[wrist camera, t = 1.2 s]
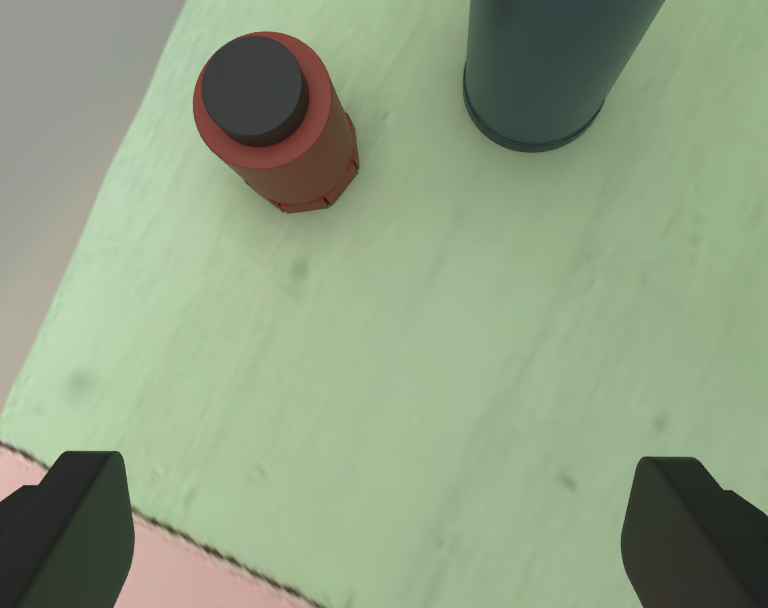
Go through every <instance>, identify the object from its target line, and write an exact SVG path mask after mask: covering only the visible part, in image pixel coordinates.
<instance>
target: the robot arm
mask: <svg viewBox="0 0 768 608" xmlns="http://www.w3.org/2000/svg"><path fill="white" fill-rule="evenodd" d="M134 542H135V533H134V525H133V518H132V511H131V504H130V498H129V491H128V484H127V477H126V471H125V464H124V460H123V457H122V455H121V454H120V452H118V451H66V452H64V453H62V454H61V455H60V456H59V458H58V459H57V460H56V462H55V463H54V464H53V466H52V467H51V468H50V470H49V471H48V473H47V474H46V475H45V477H44V478H43V479H42V481H41V482H40V483H39V485H23V486H22V487H21V488H19V489H18V490H16V491H15V492H13V493H12V494H11V495H9V496H8V497H6V498H5V499H4V500H2V501H1V502H0V608H113V607H114V605H115V603H116V601H117V598H118V596H119V594H120V592H121V589H122V587H123V585H124V583H125V580H126V578H127V576H128V573H129V570H130V567H131V563H132V558H133V552H134ZM621 553H622V559H623V564H624V568H625V571H626V573H627V576H628V578H629V580H630V582H631V584H632V586H633V588H634V590H635V592H636V594H637V596H638V598H639V600H640V602H641V604H642V606H643V608H768V516H767V515H766V514H765V513H764V512H762V511H761V510H759V509H758V508H756V507H755V506H754V505H752V504H751V503H749V502H748V501H746V500H745V499H744V498H742V497H741V496H739V495H738V494H736V493H735V492H733V491H732V490H723V489H722V488H721V487H720V485H719V484H718V483H717V482H716V481H715V479H714V478H713V477H712V476H711V474H710V473H709V472H708V471H707V470H706V468H705V467H704V466H703V465H702V463H701V462H700V461H699V460H697V459H696V458H694V457H643V458H641V459H640V461H639V462H638V464H637V467H636V471H635V475H634V480H633V484H632V488H631V493H630V497H629V502H628V506H627V511H626V515H625V520H624V524H623V528H622V534H621Z"/></svg>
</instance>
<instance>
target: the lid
mask: <svg viewBox="0 0 768 608" xmlns="http://www.w3.org/2000/svg"><path fill="white" fill-rule="evenodd" d="M193 113H194V119H195V123H196V126H197V129H198V131H199V133H200V136H201V137H202V139H203V141H204V142H205V144H206V145H207V146H208V147H209V148H210V150H211V151H212V152H214V153H215V154H216V155H217V156H218V157H219V158H220V159H221V160H223V161H224V162H225V163H226V164H227V165H228V166H229V167H230V168H232V169H233V170H234V171H235V172H236V173H237V174H238V175H240V176H241V177H242V178H243V179H244V180H245V182H246V183H247V184H248V185H249V186H250V187H251V188H252V189H254V190H255V191H256V192H258V193H259V194H260V195H261V196H263V197H264V198H265V199H267V200H268V201H269V202H271V203H272V204H273V205H274V206H276V207H277V208H278V209H280V210H281V211H282V212H284V211H286V212H287V213H294V212H302V211H309V210H316V209H323V208H328V203H329V204H331V205H333V204H334V203H335V201H336V200H337V199H338V197H339V196H340V195H341V194H342V192H343V191H344V190H345V189H346V187H347V186H348V185H349V183H350V182H351V181H352V180H353V178H354V177H355V176H356V174H357V173H358V172H357V170H356V169H358V168H359V162H358V153H357V145H356V136H355V128H354V126H353V123H352V121H351V119H350V118H349V115H348V114H347V113H345V112H344V110H343V108H342V106H341V103H340V101H339V98H338V96H337V94H336V91H335V89H334V86H333V84H332V82H331V79H330V77H329V74H328V72H327V70H326V68H325V66H324V64H323V62H322V61H321V59H320V58H319V56H318V55H317V54H316V53H315V52H314V51H313V50H312V49H311V48H310V47H309V46H307V45H306V44H305V43H303V42H302V41H300V40H298V39H296V38H294V37H292V36H289V35H286V34H282V33H277V32H255V33H250V34H246V35H243V36H241V37H238V38H236V39H234V40H232V41H230V42H228V43H227V44H225V45H224V46H222V47H221V48H220V49H219V50H218V51H217V52H215V53H214V55H213V56H212V57H211V58H210V59H209V60H208V62H207V63H206V64H205V66H204V67H203V69H202V71H201V73H200V75H199V77H198V80H197V83H196V86H195V90H194V97H193Z"/></svg>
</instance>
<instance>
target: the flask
mask: <svg viewBox="0 0 768 608" xmlns="http://www.w3.org/2000/svg"><path fill="white" fill-rule="evenodd" d="M664 2H665V0H470V14H469V29H468V44H467V58H466V63H465V68H464V76H463V95H464V100H465V104H466V107H467V110H468V112H469V114H470V116H471V118H472V120H473V121H474V123H475V124H476V126H477V127H478V128H479V129H480V130H481V131H482V132H483V133H484V134H485V135H486V136H487V137H488V138H490V139H491V140H493V141H494V142H496V143H497V144H499V145H502V146H504V147H506V148H509V149H512V150H516V151H522V152H544V151H548V150H553V149H556V148H559V147H562V146H564V145H566V144H568V143H570V142H571V141H573V140H574V139H576V138H577V137H579V136H580V135H581V134H582V133H583V132H584V131H585V130H586V129H587V128H588V127H589V126H590V125H591V123H592V122H593V121H594V119H595V118H596V116H597V114H598V113H599V111H600V109H601V107H602V105H603V103H604V101H605V98H606V96H607V95H608V93H609V91H610V90H611V88H612V86H613V85H614V83H615V82H616V80H617V78H618V77H619V75H620V73H621V72H622V70H623V69H624V67H625V65H626V64H627V62H628V60H629V59H630V57H631V55H632V54H633V52H634V51H635V49H636V47H637V46H638V44H639V42H640V41H641V39H642V37H643V36H644V34H645V33H646V31H647V29H648V28H649V26H650V24H651V23H652V21H653V20H654V18H655V16H656V15H657V13H658V11H659V10H660V8H661V6H662V5H663V3H664Z"/></svg>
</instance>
